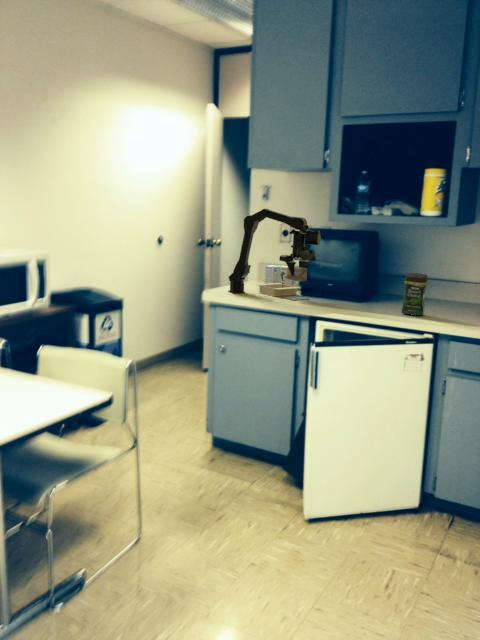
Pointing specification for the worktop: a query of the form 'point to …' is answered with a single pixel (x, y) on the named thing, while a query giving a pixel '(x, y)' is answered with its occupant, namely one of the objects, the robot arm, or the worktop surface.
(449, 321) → the worktop surface
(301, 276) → the gray and brown box
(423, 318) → the worktop surface
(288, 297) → the mat
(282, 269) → the ink box
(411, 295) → the coffee jar
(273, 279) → the light bulb box
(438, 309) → the worktop surface
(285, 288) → the beige open box
